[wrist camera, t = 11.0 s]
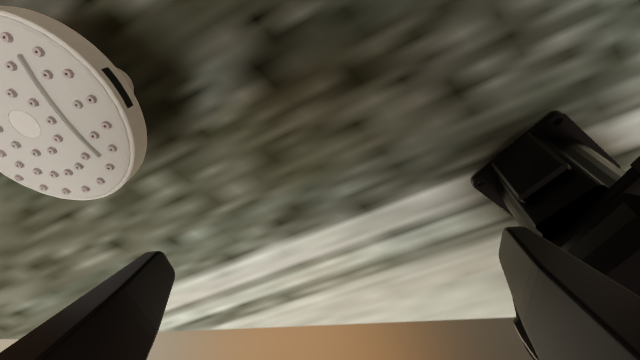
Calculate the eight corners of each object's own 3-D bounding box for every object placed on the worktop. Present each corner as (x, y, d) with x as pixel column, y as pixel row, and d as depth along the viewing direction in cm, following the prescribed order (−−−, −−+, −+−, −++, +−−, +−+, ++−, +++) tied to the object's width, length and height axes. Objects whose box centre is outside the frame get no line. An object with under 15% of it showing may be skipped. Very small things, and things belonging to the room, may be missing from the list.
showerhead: (-171, 61, 13) (-2, -35, 10) (-2, 35, 19) (129, -29, 16) (15, 229, 17) (161, 190, 15) (102, 164, 23) (215, 129, 21)
